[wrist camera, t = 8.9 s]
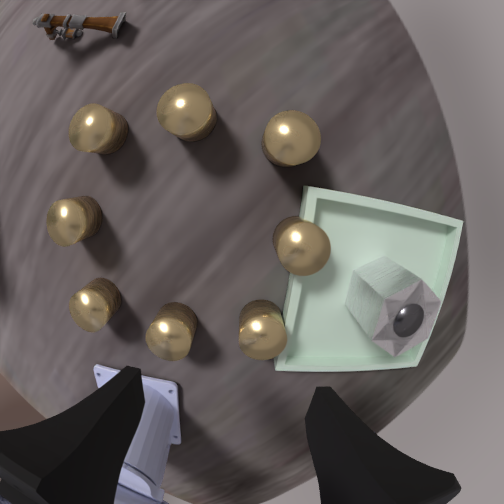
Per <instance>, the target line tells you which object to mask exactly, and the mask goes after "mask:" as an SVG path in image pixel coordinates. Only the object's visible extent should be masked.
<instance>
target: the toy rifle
mask: <svg viewBox="0 0 504 504" xmlns="http://www.w3.org/2000/svg"><path fill="white" fill-rule="evenodd" d="M125 20H126V12H124V13H122V12H121V13H120V15H119V16H116V17H95V18H93V17H87V15H85V16H80V15H73V16H71V14H70V15H69V14H68V15H67V16H55V15H54V14H41V15H40V17H37V18H35V19H34V20H33V25H37V27H38V28H40V27H44V29H45V31H46V33H47V34H46V35H47V37H49V39H50V40H55V38H56V35H57V34H59V36H61V35H62V37H63V39H64V40H65V39H66V38H73V39H75V37H76V36H81V35H82V31H81V30H83V29H84V28H89V29H95V30H100V31H105V32H109V33H112V35H113V38H116V39H117V33H118V31H119V29H120V27H121V24H122V22H124V21H125ZM58 26H60V27H64V30H62V29H61V30H60V31H58V30H56V27H58ZM69 27H70V28H69ZM79 29H81V30H79ZM56 31H57V32H56ZM58 32H59V33H58Z"/></svg>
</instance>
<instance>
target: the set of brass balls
mask: <svg viewBox="0 0 504 504" xmlns="http://www.w3.org/2000/svg"><path fill="white" fill-rule="evenodd" d="M157 117H158V120H159V122H160V124H161V126H162V127H163V128H164V129H166V130H167V131H169V132H170V133H172V134H174V135H175V136H177V137H179V138H180V139H182V140H185V141H198V140H201V139H203V138H205V137H206V136H208V135H209V134H210V133H211V132H212V130H213V129H214V127H215V124H216V118H217V117H216V112H215V109H214V107H213V104H212V102H211V100H210V98H209V96H208V94H207V92H206V91H205V90H204V89H203V88H201V87H200V86H198V85H195V84H190V83H184V84H179V85H176V86H174V87H172V88H170V89H169V90H168V91H166V92H165V93H164V95H163V96H162V97H161V99H160V101H159V103H158V106H157ZM127 133H128V125H127V122H126V120H125V118H124V117H123V116H122V115H120V114H118V113H116V112H114V111H112V110H109V109H107V108H105V107H103V106H101V105H98V104H88V105H86V106H84V107H82V108H81V109H80V110H79V111H78V112H77V113H76V114H75V115H74V117H73V119H72V121H71V123H70V127H69V139H70V142H71V144H72V146H73V147H74V148H75V149H77V150H79V151H84V152H92V153H100V154H111V153H113V152H115V151H117V150H118V149H119V148H120V147H121V146H122V145H123V144H124V142H125V140H126V137H127ZM320 143H321V135H320V131H319V128H318V126H317V124H316V123H315V122H314V120H313V119H312V118H310V117H309V116H308V115H306V114H304V113H302V112H299V111H294V110H289V111H283V112H281V113H278V114H277V115H275V116H274V117H273V118H272V119H271V120H270V121H269V123H268V125H267V127H266V129H265V132H264V134H263V137H262V150H263V152H264V154H265V156H266V157H267V159H268V160H269V161H271V162H272V163H273V164H275V165H278V166H281V167H291V166H295V165H298V164H301V163H305V162H307V161H309V160H310V159H311V158H313V157H314V156H315V154H316V153H317V151H318V149H319V147H320ZM101 222H102V213H101V209H100V206H99V204H98V203H97V202H96V201H95V200H94V199H93V198H91V197H89V196H81V197H75V198H69V199H63V200H58V201H56V202H55V203H53V204H52V206H51V207H50V209H49V211H48V214H47V229H48V232H49V235H50V237H51V238H52V240H53V241H54V242H55V243H56V244H58V245H60V246H64V247H66V246H70V245H72V244H74V243H76V242H79V241H81V240H83V239H86V238H88V237H90V236H92V235H94V234H95V233H96V232H97V231H98V230H99V228H100V226H101ZM273 245H274V248H275V250H276V252H277V255H278V257H279V260H280V262H281V264H282V265H283V267H284V268H285V269H286V270H287V271H289V272H290V273H292V274H294V275H298V276H308V275H312V274H314V273H316V272H318V271H320V270H321V269H322V268H323V267H324V266H325V264H326V263H327V261H328V259H329V257H330V253H331V244H330V240H329V237H328V236H327V234H326V233H325V231H324V230H323V229H321V228H320V227H319V226H317V225H316V224H314V223H312V222H310V221H308V220H304V219H302V218H301V217H299V216H292V217H288V218H286V219H284V220H282V221H281V222H280V223H279V224H278V225H277V227H276V229H275V231H274V234H273ZM120 305H121V296H120V293H119V291H118V289H117V287H116V286H115V285H114V284H113V283H112V282H111V281H109V280H108V279H105V278H96V279H94V280H93V281H91V282H90V283H89V284H87V285H86V286H85V287H83V288H82V289H81V290H79V291H78V292H77V293H76V294H74V295H73V296H72V297H71V299H70V302H69V309H70V313H71V316H72V318H73V320H74V321H75V322H76V324H77V325H78V326H79V327H81V328H82V329H84V330H86V331H88V332H97V331H99V330H101V328H102V327H103V326H104V325H105V324H106V323H107V322H108V320H109V319H110V318H111V317H112V316H113V315H114V314H115V313H116V311H117V310H118V309H119V307H120ZM196 327H197V318H196V315H195V314H194V312H193V311H192V310H191V309H190V308H189V307H188V306H186V305H184V304H182V303H178V302H171V303H168V304H165V305H164V306H163V307H162V308H161V309H160V311H159V312H158V314H157V315H156V317H155V319H154V320H153V322H152V324H151V325H150V327H149V329H148V330H147V333H146V343H147V345H148V347H149V349H150V350H151V351H152V352H153V353H154V354H155V355H156V356H158V357H159V358H162V359H164V360H168V361H177V360H180V359H183V358H184V357H185V356H186V355H187V354H188V353H189V350H190V347H191V344H192V341H193V337H194V334H195V331H196ZM286 344H287V334H286V330H285V327H284V323H283V319H282V315H281V312H280V309H279V308H278V307H277V306H276V305H275V304H274V303H272V302H270V301H268V300H255V301H252V302H250V303H248V304H247V305H246V306H245V307H244V308H243V309H242V311H241V313H240V321H239V346H240V348H241V350H242V351H243V353H244V354H246V355H247V356H248V357H250V358H253V359H256V360H267V359H271V358H274V357H276V356H278V355H279V354H280V353H281V352H282V351H283V350H284V348H285V347H286Z"/></svg>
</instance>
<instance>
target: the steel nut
mask: <svg viewBox="0 0 504 504" xmlns="http://www.w3.org/2000/svg"><path fill="white" fill-rule="evenodd" d="M441 302H442V301H441V300H440V299H439V298H438V297H437V296H436V294H435V293H434V292H433V291H432V290H431V289H430V288H429V286H428V285H427V284H426V283H425V282H424V281H423V280H422V279H421V278H420V277H418V276H416V275H415V274H413V273H412V272H410V271H408V270H407V269H405V268H404V267H402V266H400V265H399V264H397V263H396V262H394V261H392V260H391V259H389V258H387V257H386V256H382V257H380V258H378V259H375V260H373V261H371V262H369V263H367V264H365V265H363V266H360V267H358V268H356V269H354V270H353V271H352V276H351V280H350V284H349V288H348V292H347V296H346V300H345V305H346V307H347V308H348V309H349V311H350V312H351V313H352V315H353V316H354V317H355V319H356V320H357V322H358V323H359V324H360V326H361V327H362V328H363V330H364V331H365V332H366V334H367V335H368V337H369V338H370V339H371V341H373V342H374V343H376V344H377V345H378V346H380V347H381V348H383V349H384V350H385V351H387V352H388V353H390V354H391V355H392V356H394V357H396V356H398V355H400V354H402V353H404V352H405V351H407V350H409V349H411V348H413V347H414V346H416V345H418V344H419V343H421V342H423V341H425V340H426V339H428V337H429V335H430V332H431V330H432V327H433V324H434V322H435V319H436V316H437V313H438V311H439V308H440V305H441Z"/></svg>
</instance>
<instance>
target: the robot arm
mask: <svg viewBox="0 0 504 504" xmlns="http://www.w3.org/2000/svg"><path fill="white" fill-rule="evenodd" d="M94 373H95V377H96V381H97V385H98V388H99V389H97V390H96V391H95V392H93V393H92V394H91V395H89V396H88V397H86V398H85V399H83V400H82V401H80V402H79V403H77V404H76V405H74V406H73V407H71V408H69V409H67V410H66V411H64V412H62V413H60V414H58V415H56V416H53V417H51V418H49V419H46V420H44V421H41V422H39V423H36V424H33V425H29V426H26V427H22V428H18V429H13V430H6V431H0V478H1V479H2V480H1V481H0V504H169V503H167V502H166V501H164V500H163V496H164V492H165V491H164V490H163V489H161V488H159V487H160V486H161V484H162V481H163V476H164V472H165V467H166V463H167V459H168V454H169V450H170V446H171V443H172V444H181V431H180V417H179V401H178V386H177V384H176V383H175V382H172V381H167V380H162V379H157V378H152V377H147V376H142V375H141V369H139V368H135V367H130V366H126V367H125V368H123V369H122V370H117V369H113V368H109V367H106V366H102V365H98V364H96V365H95V366H94ZM99 373H100V374H99ZM171 390H173V391H171ZM305 423H306V433H307V439H308V443H309V447H310V451H311V455H312V459H313V463H314V467H315V470H316V474H317V478H318V483H319V490H320V498H321V504H447V503H448V502H449V501H450V500H452V499H453V498H454V497H455V496H456V495H457V494H458V493H459V492H460V490H461V486H460V484H459V483H458V481H457V479H456V477H455V476H454V474H453V473H449V472H446V471H442V470H439V469H436V468H433V467H430V466H428V465H426V464H423V463H421V462H419V461H417V460H415V459H413V458H411V457H409V456H407V455H406V454H404V453H402V452H400V451H399V450H397V449H396V448H394V447H393V446H391V445H390V444H389V443H387V442H386V441H384V440H383V439H382V438H380V437H379V436H378V435H377V434H376V433H374V432H373V431H372V430H371V429H370V428H369V427H368V426H367V425H366V424H365V423H363V422H362V421H361V420H360V419H359V418H358V417H357V416H356V415H355V413H354V412H353V411H352V410H351V409H350V408H349V407H348V406H347V405H346V404H345V403H344V402H343V400H342V399H341V398H340V397H339V396H338V395H337V394H336V392H335V391H334V390H333V389H332V388H331V387H316V390H315V393H314V395H313V398H312V401H311V404H310V406H309V409H308V411H307V414H306V417H305Z"/></svg>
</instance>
